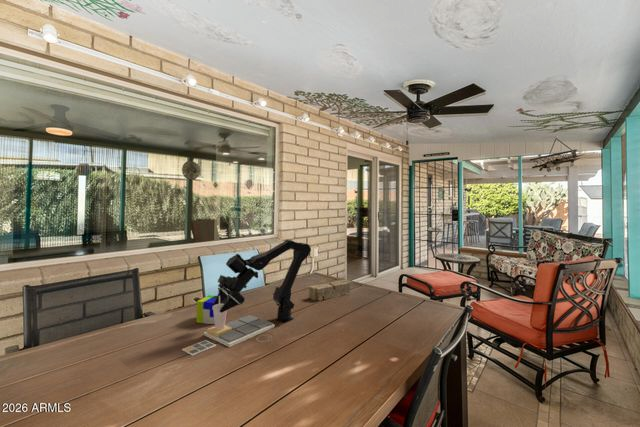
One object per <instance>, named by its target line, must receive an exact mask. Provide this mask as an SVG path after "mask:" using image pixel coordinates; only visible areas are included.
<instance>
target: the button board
mask: <svg viewBox="0 0 640 427" xmlns="http://www.w3.org/2000/svg"><path fill="white" fill-rule="evenodd" d="M225 325H226V326H228V327H231V328H232V331H229V332H227V333H224V334H222V335H219V337H218V338H217V337H215V336H213V335H211V334H208V333H207V331H205V332H203V336H204V337H207V338H209V339H211V340H213V341H216V342H218V343H220V344H222V345H224V346H226V347H228V348H231V347H233V346H235V345H238V344H240V343H242V342H244V341H247V340H249V339H250V338H253V337H255V336H257V335H259V334H261V333H262V334H263V333H264V332H266V331H269V330H271V329H273V328H275V325H276V324H274V323H273V322H271V321H268V320H265V319H262V318H259V317H257V316H255V315H250V314H248V315H246V316H242V317H240V318H238V319H235V320H232V321H229V322H225Z"/></svg>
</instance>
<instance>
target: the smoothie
mask: <svg viewBox="0 0 640 427" xmlns="http://www.w3.org/2000/svg"><path fill="white" fill-rule="evenodd" d="M223 305H224V304H220V296H219V304H216V305H214V306H213V312H214V321H215V324H214V326H215V329H216V330H223V329H224V328H225V324H226V319H227V317H226V314H227V315H228V310H226V311H224V312H222V313H221V312H220V309H221V308H222V306H223Z"/></svg>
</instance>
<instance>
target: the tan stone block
mask: <svg viewBox="0 0 640 427" xmlns="http://www.w3.org/2000/svg"><path fill="white" fill-rule="evenodd" d="M351 286H353V282H352V280H351V281H350V280H347V279H341V280H340V279H339V280H337V281H331V282H329V283H327V282H325V283H322V284H321V283H320V284H316V285H315V284H314V285H310V286H308V298H311V299H310V300H312V299H313V300H312V301H317V300H322V301H323V299H326V298H330V297H334V296H338V295H343V294H347V293H350V294H351ZM322 298H323V299H322ZM326 300H327V299H326Z"/></svg>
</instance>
